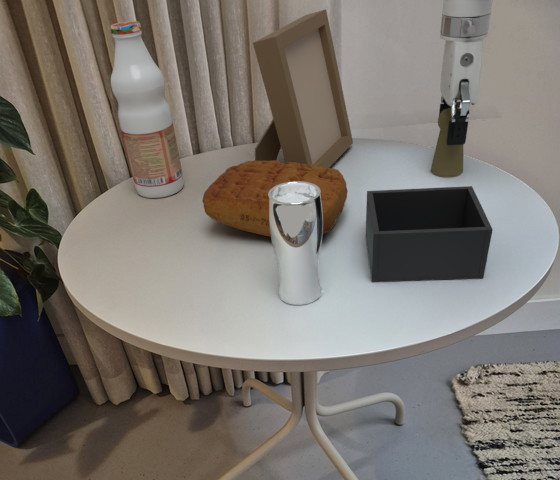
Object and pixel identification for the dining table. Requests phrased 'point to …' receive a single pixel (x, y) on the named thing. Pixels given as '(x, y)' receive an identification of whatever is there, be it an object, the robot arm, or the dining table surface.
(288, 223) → the beer glass
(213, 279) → the dining table surface
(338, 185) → the clay tablet
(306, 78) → the photo frame
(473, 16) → the robot arm
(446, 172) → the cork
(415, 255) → the basket
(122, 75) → the fruit juice
